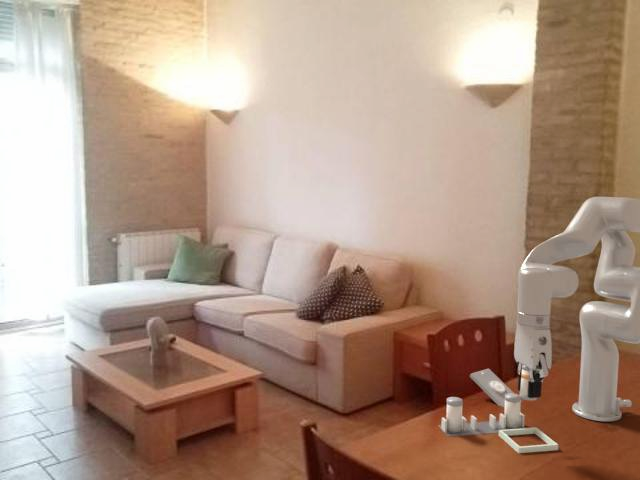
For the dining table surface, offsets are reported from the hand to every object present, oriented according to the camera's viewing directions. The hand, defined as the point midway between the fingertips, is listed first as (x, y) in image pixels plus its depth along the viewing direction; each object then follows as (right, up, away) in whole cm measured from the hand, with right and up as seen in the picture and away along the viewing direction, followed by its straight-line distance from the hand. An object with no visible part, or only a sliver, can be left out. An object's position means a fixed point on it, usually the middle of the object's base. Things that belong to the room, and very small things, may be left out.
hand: (529, 393), depth 153 cm
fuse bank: (-9, -13, +10) cm, 18 cm away
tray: (0, -14, +2) cm, 14 cm away
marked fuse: (0, -1, 0) cm, 1 cm away
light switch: (+1, -10, +32) cm, 33 cm away
